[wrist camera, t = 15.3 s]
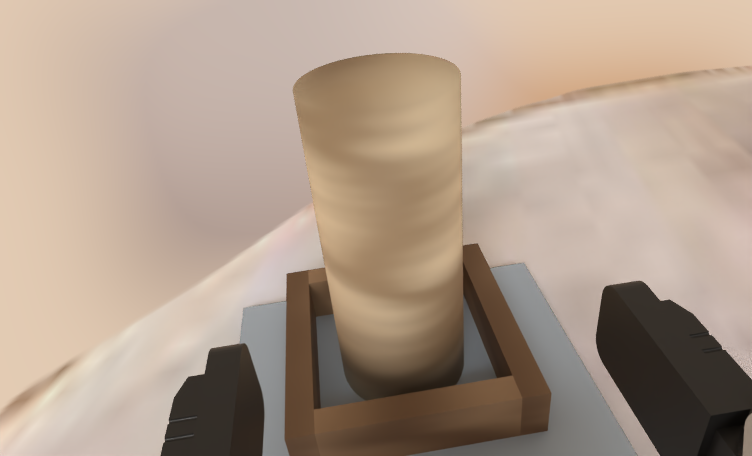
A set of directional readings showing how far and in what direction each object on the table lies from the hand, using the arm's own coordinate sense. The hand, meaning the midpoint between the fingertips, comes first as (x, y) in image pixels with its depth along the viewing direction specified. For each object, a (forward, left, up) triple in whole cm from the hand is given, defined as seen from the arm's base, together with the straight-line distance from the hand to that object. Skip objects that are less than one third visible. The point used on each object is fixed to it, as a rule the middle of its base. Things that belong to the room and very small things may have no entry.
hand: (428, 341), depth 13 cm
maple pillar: (0, -7, -8) cm, 11 cm away
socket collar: (0, -8, -9) cm, 12 cm away
